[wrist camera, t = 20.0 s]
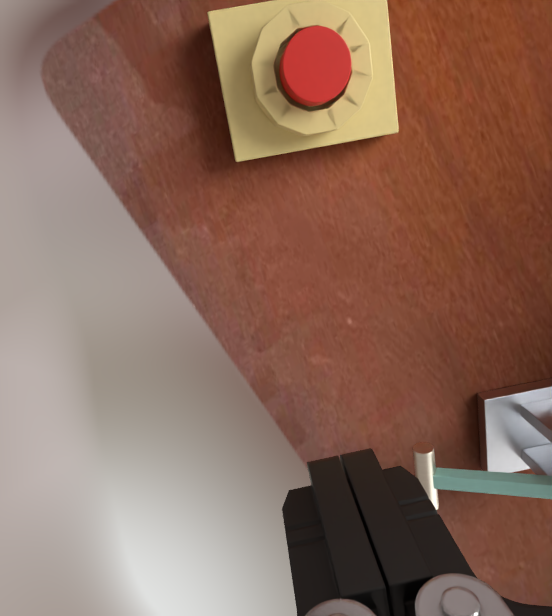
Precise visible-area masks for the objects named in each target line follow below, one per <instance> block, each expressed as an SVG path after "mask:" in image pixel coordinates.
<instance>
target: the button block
mask: <svg viewBox="0 0 552 616" xmlns="http://www.w3.org/2000/svg"><path fill="white" fill-rule="evenodd" d="M208 20H209V26H210V31H211V36H212V41H213V47H214V52H215V57H216V62H217V68H218V73H219V78H220V83H221V89H222V94H223V99H224V104H225V109H226V115H227V120H228V125H229V130H230V136H231V141H232V146H233V151H234V157H235V161H236V162H240V161H246V160H251V159H257V158H262V157H268V156H273V155H279V154H284V153H290V152H295V151H301V150H306V149H312V148H317V147H323V146H328V145H334V144H339V143H345V142H350V141H356V140H361V139H366V138H372V137H377V136H383V135H388V134H394V133H398V132H399V129H398V118H397V107H396V96H395V85H394V73H393V62H392V51H391V40H390V29H389V17H388V6H387V0H273V1H268V2H262V3H256V4H250V5H244V6H238V7H233V8H227V9H221V10H215V11H209V12H208ZM310 26H324V27H328V28H330V29H332V30H334V31H335V32H337V33H338V34H339V35H340V36H341V37H342V38H343V39H344V41H345V42H346V44H347V46H348V48H349V51H350V54H351V62H352V66H351V74H350V77H349V80H348V82H347V84H346V86H345V88H344V89H343V90H342V91H341V92H340V93H339V94H338V95H337V96H336V97H335V98H333V99H331V100H329V101H328V102H326V103H324V104H321V105H318V106H306V105H302V104H300V103H298V102H296V101H294V100H293V99H292V98H291V97H290V96H289V95H288V94H287V93H286V91H285V90H284V88H283V86H282V83H281V80H280V74H279V66H280V60H281V57H282V54H283V52H284V50H285V48H286V46H287V44H288V43H289V41H290V40H291V38H292V37H293V36H294V35H295V34H296V33H298V32H299V31H301V30H302V29H304V28H307V27H310Z"/></svg>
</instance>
